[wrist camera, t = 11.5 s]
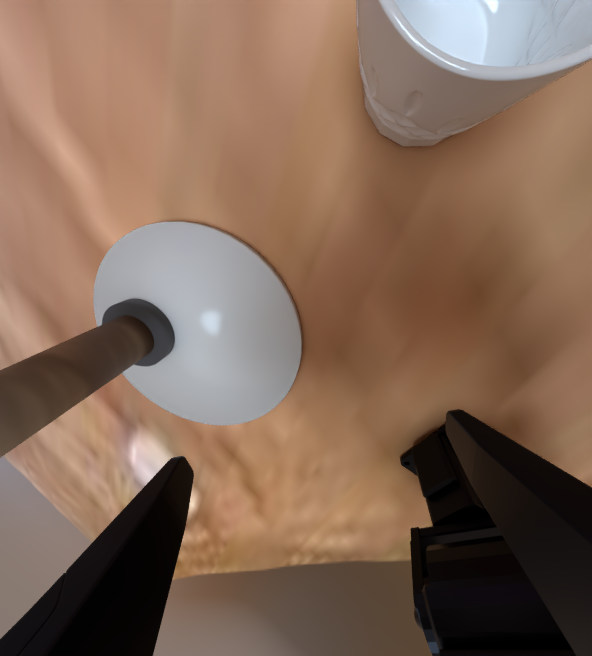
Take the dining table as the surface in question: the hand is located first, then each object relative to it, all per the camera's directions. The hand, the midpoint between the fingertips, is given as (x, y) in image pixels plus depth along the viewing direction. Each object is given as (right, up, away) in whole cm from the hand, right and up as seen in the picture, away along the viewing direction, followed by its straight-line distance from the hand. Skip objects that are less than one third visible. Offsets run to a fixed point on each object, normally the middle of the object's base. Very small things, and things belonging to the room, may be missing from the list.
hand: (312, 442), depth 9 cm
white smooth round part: (-9, +3, +14) cm, 17 cm away
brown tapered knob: (-13, +4, +13) cm, 19 cm away
